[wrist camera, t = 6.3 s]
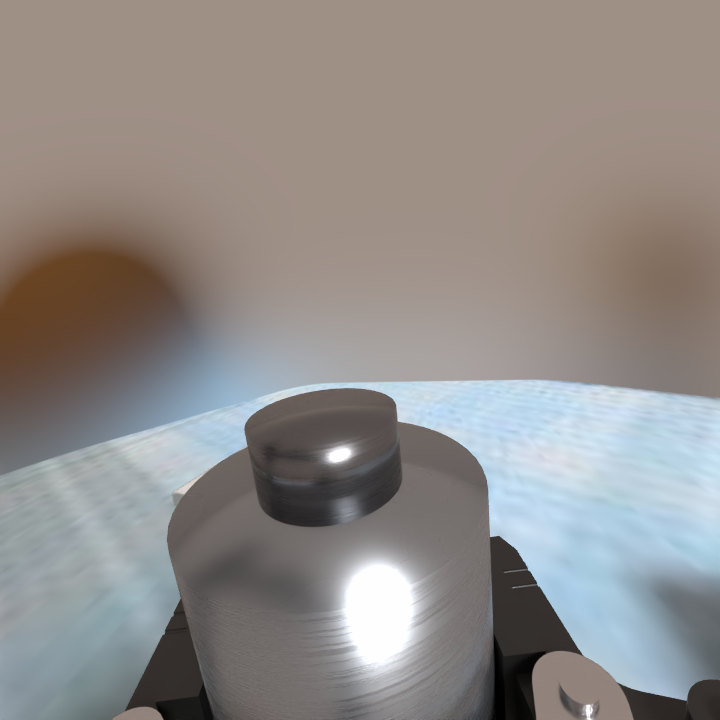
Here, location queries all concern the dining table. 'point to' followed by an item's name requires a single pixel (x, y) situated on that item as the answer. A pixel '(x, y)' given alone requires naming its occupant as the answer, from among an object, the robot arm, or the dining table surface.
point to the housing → (339, 568)
